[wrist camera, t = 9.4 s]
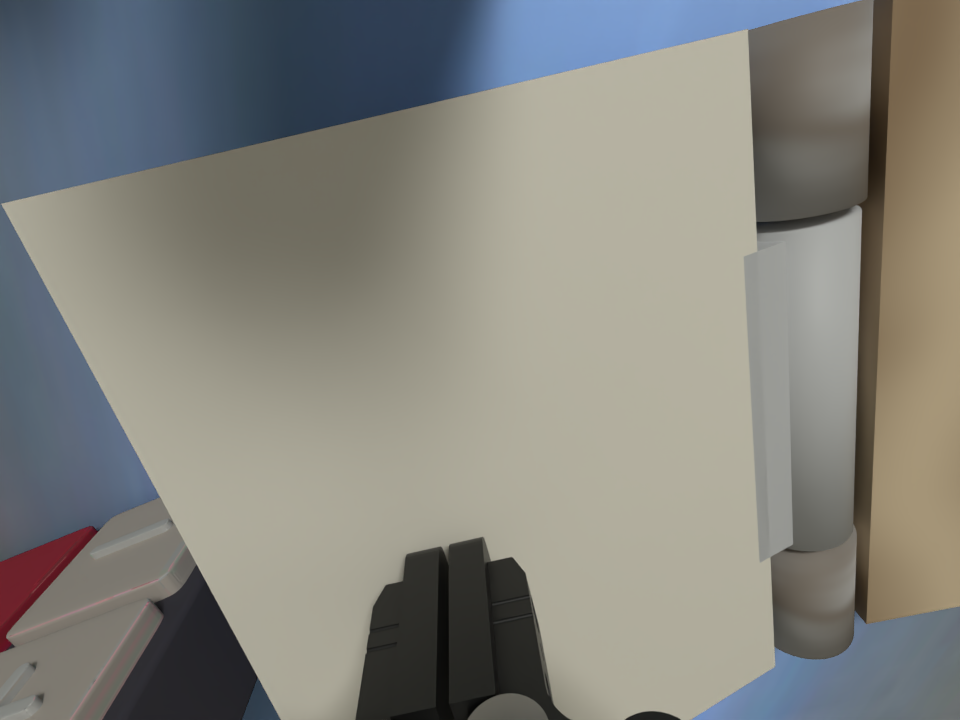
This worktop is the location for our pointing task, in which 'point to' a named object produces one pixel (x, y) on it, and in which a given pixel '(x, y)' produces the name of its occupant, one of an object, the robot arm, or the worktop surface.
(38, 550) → the calculator
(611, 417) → the hinge leaf
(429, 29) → the worktop surface
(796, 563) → the fixed leaf
